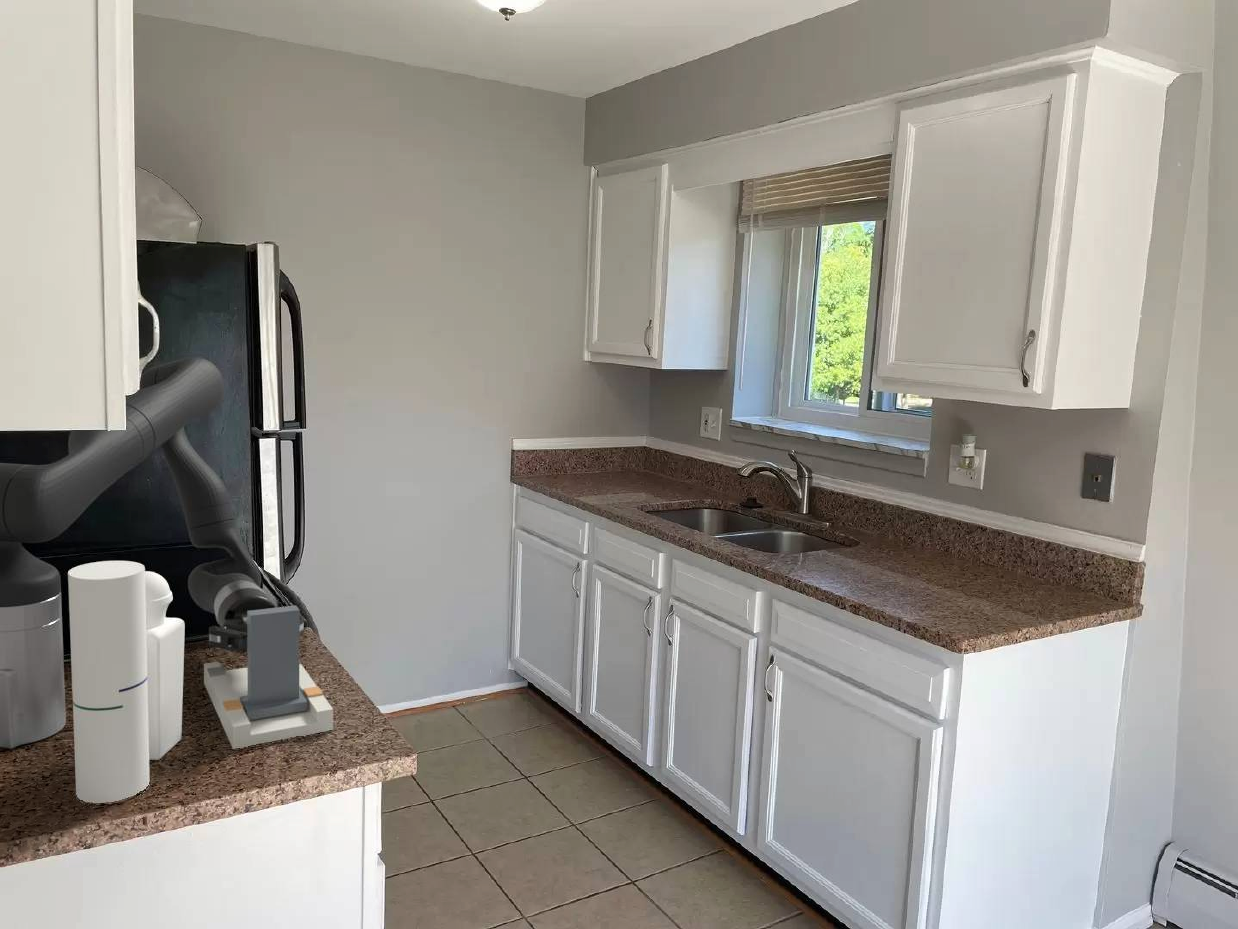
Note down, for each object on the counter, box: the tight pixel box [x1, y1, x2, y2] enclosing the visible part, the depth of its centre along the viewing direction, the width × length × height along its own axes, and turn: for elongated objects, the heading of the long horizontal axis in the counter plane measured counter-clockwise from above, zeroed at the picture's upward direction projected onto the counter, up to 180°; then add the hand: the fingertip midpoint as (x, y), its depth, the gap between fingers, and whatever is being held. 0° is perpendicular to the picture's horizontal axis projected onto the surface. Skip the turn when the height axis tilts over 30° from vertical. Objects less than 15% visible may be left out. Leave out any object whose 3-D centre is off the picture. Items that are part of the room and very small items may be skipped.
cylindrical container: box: [67, 560, 150, 803], centre depth 101 cm, size 7×7×25 cm
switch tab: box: [240, 604, 308, 720], centre depth 120 cm, size 5×7×13 cm
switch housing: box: [203, 659, 334, 750], centre depth 125 cm, size 22×12×3 cm, turn 32°
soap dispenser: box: [145, 570, 186, 761], centre depth 110 cm, size 6×6×22 cm
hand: (271, 652), depth 120 cm, fingers closed
